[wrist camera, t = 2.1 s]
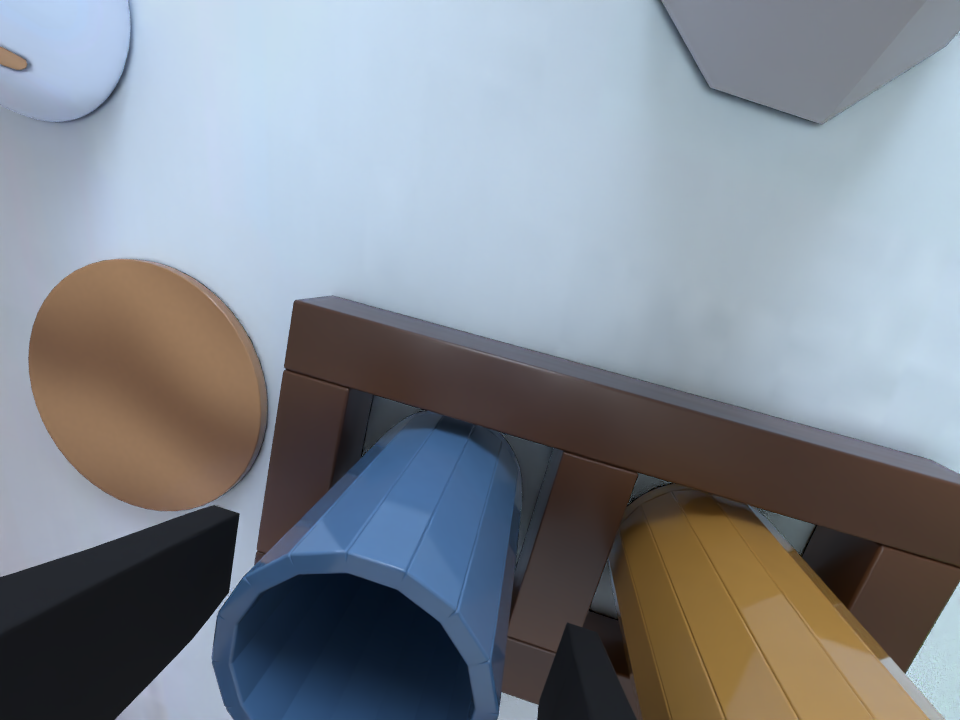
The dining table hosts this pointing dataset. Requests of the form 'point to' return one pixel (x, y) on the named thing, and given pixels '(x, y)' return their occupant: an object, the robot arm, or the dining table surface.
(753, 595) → the ochre cup
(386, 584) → the blue cup
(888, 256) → the dining table surface
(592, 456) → the cup holder
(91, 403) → the coaster
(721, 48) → the flask
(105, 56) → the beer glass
